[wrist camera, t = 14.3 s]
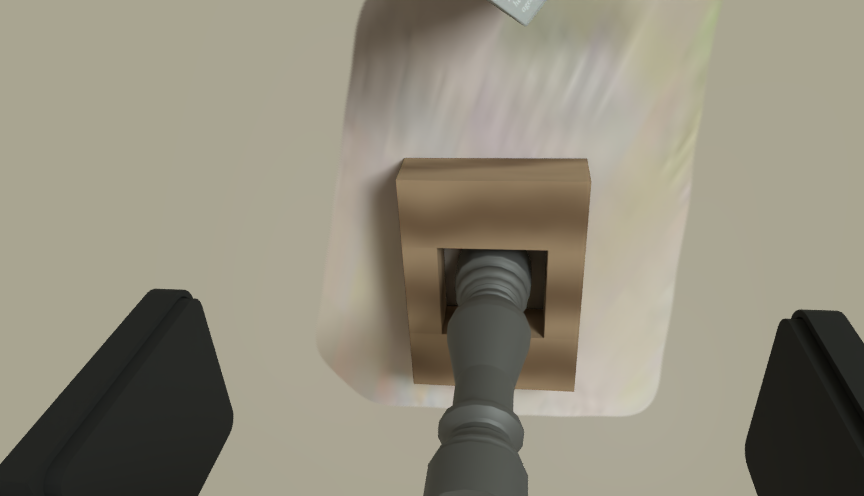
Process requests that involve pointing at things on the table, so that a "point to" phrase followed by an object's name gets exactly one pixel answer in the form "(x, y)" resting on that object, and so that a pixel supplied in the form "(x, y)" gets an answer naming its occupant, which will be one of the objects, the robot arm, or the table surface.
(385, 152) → the table surface
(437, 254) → the holder board
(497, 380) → the candle holder
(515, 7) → the skincare box
